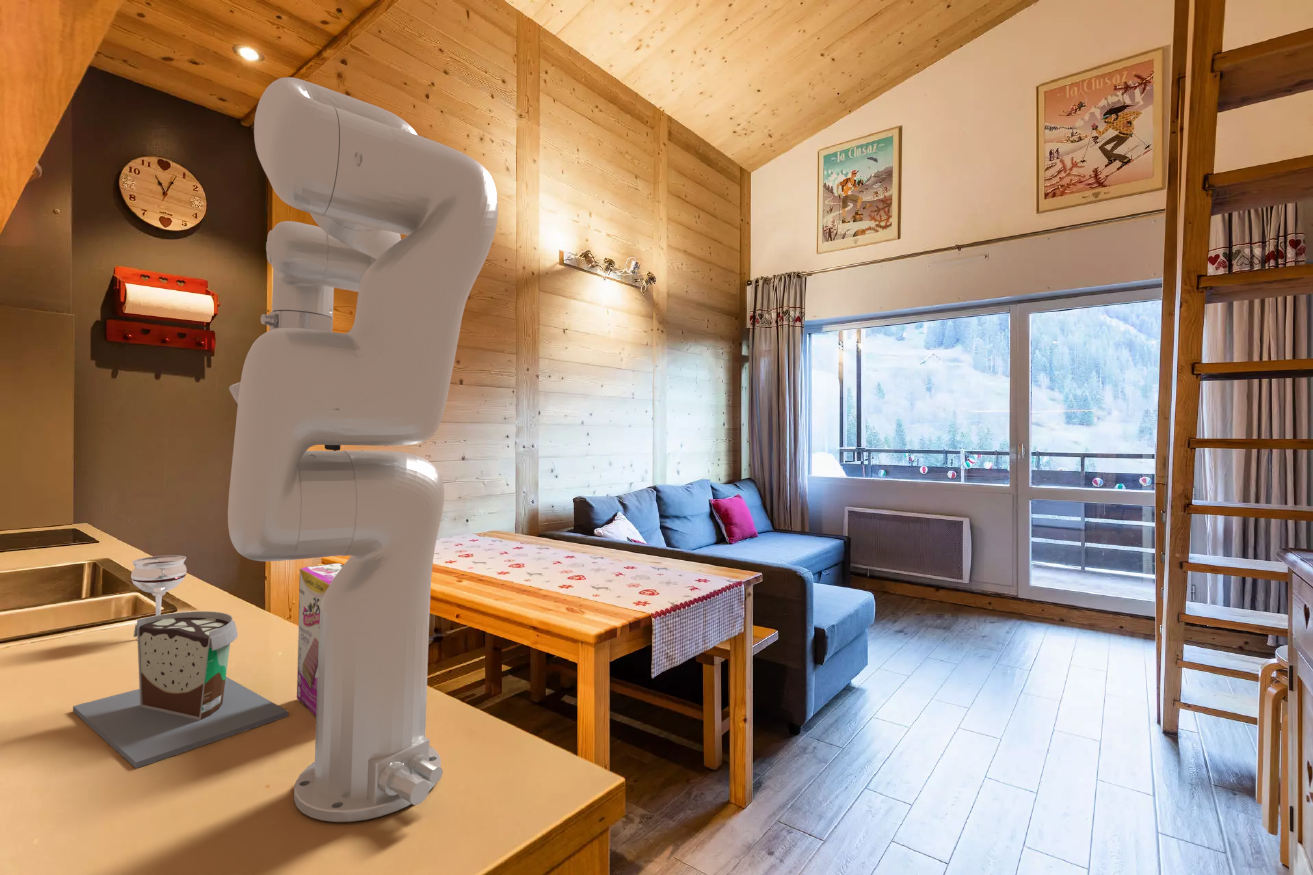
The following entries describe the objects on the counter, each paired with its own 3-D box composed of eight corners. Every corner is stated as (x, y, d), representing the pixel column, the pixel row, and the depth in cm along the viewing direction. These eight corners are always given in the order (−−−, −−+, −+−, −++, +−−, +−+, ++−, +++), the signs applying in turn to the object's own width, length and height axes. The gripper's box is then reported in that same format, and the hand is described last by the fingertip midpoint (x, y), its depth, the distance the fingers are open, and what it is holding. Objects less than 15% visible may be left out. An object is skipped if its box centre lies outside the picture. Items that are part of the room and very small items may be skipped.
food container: (260, 699, 74) (263, 616, 73) (210, 722, 68) (213, 632, 68) (185, 684, 77) (187, 605, 77) (131, 704, 71) (133, 618, 71)
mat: (287, 716, 71) (288, 710, 71) (135, 768, 59) (136, 762, 59) (213, 674, 82) (213, 669, 82) (72, 711, 70) (73, 705, 70)
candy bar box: (293, 700, 75) (297, 567, 75) (336, 688, 79) (340, 561, 79) (325, 732, 68) (331, 584, 67) (372, 718, 71) (377, 577, 71)
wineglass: (161, 627, 100) (163, 554, 99) (195, 631, 98) (198, 557, 98) (116, 640, 93) (119, 562, 93) (153, 645, 92) (155, 565, 91)
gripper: (246, 315, 77) (242, 451, 77) (375, 337, 91) (371, 451, 92) (220, 320, 81) (216, 448, 81) (347, 339, 96) (343, 449, 96)
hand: (298, 449), depth 86 cm, fingers open, 9 cm apart
